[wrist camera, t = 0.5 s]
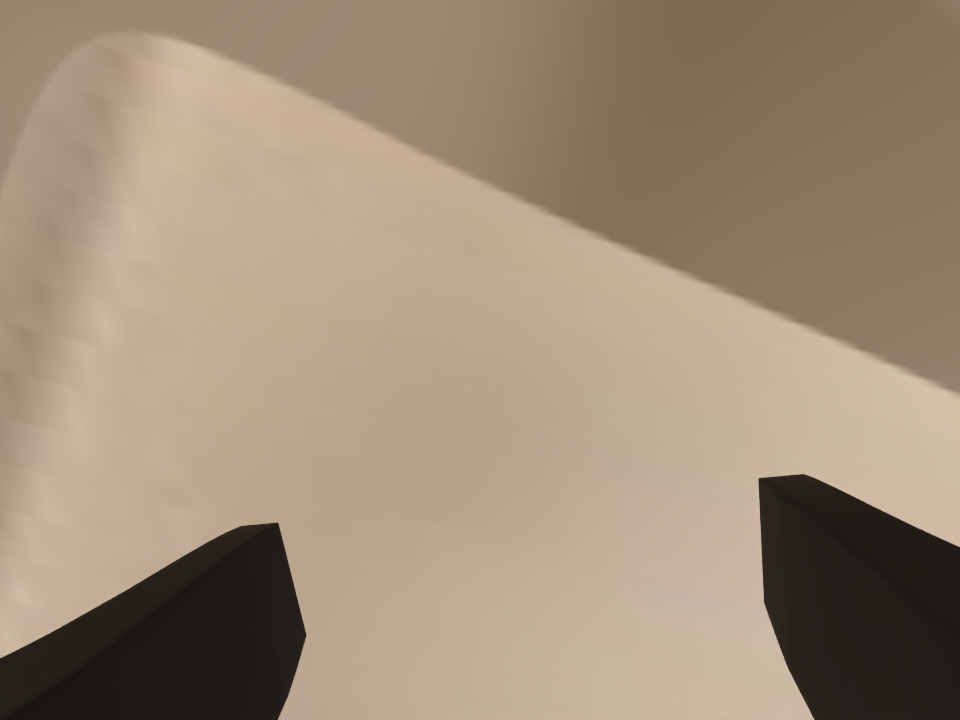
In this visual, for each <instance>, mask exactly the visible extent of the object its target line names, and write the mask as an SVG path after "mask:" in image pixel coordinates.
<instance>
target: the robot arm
mask: <svg viewBox="0 0 960 720" xmlns="http://www.w3.org/2000/svg"><path fill="white" fill-rule="evenodd" d="M759 499H760V521H761V543H762V564H763V586H764V604H765V606H766V609H767V612H768V615H769V618H770V621H771V623H772V626H773V629H774V632H775V635H776V638H777V640H778V643H779V645H780V648H781V651H782V653H783V656H784V659H785V661H786V664H787V667H788V669H789V671H790V673H791V675H792V677H793V679H794V681H795V683H796V684H797V686H798V688H799V690H800V692H801V694H802V696H803V698H804V700H805V702H806V704H807V706H808V708H809V710H810V712H811V714H812V716H813V718H814V719H815V720H960V547H958V546H956V545H953V544H951V543H949V542H947V541H944V540H942V539H940V538H938V537H936V536H933V535H931V534H929V533H927V532H925V531H923V530H920V529H918V528H916V527H914V526H912V525H910V524H908V523H906V522H904V521H902V520H900V519H897V518H895V517H893V516H891V515H889V514H887V513H885V512H883V511H881V510H879V509H877V508H875V507H873V506H871V505H869V504H867V503H865V502H863V501H861V500H859V499H857V498H855V497H853V496H851V495H849V494H847V493H845V492H843V491H841V490H839V489H837V488H835V487H832V486H830V485H828V484H826V483H824V482H822V481H820V480H817V479H815V478H813V477H810V476H807V475H804V474H800V475H789V476H779V477H768V478H759ZM305 638H306V632H305V628H304V624H303V620H302V616H301V612H300V608H299V604H298V600H297V596H296V592H295V588H294V584H293V580H292V576H291V572H290V568H289V564H288V560H287V556H286V552H285V548H284V544H283V540H282V536H281V532H280V528H279V524H278V523H269V524H258V525H247V526H240V527H238V528H236V529H233V530H231V531H229V532H226V533H224V534H222V535H220V536H219V537H217V538H215V539H213V540H211V541H209V542H207V543H206V544H204V545H202V546H200V547H199V548H197V549H195V550H193V551H192V552H190V553H188V554H187V555H185V556H183V557H181V558H180V559H178V560H176V561H175V562H173V563H171V564H170V565H168V566H166V567H165V568H163V569H161V570H160V571H158V572H156V573H155V574H153V575H151V576H150V577H148V578H146V579H145V580H143V581H141V582H140V583H138V584H136V585H134V586H133V587H131V588H129V589H128V590H126V591H124V592H123V593H121V594H119V595H117V596H116V597H114V598H112V599H110V600H109V601H107V602H105V603H103V604H101V605H100V606H98V607H96V608H94V609H93V610H91V611H89V612H87V613H85V614H84V615H82V616H80V617H78V618H77V619H75V620H73V621H71V622H69V623H68V624H66V625H64V626H62V627H61V628H59V629H57V630H55V631H53V632H51V633H50V634H48V635H46V636H44V637H42V638H40V639H38V640H36V641H34V642H32V643H30V644H28V645H26V646H24V647H22V648H21V649H19V650H17V651H15V652H13V653H11V654H8V655H6V656H4V657H2V658H0V720H278V717H279V715H280V713H281V711H282V709H283V706H284V704H285V702H286V699H287V697H288V694H289V691H290V688H291V685H292V682H293V679H294V676H295V673H296V670H297V667H298V663H299V659H300V656H301V652H302V649H303V645H304V642H305Z"/></svg>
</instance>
